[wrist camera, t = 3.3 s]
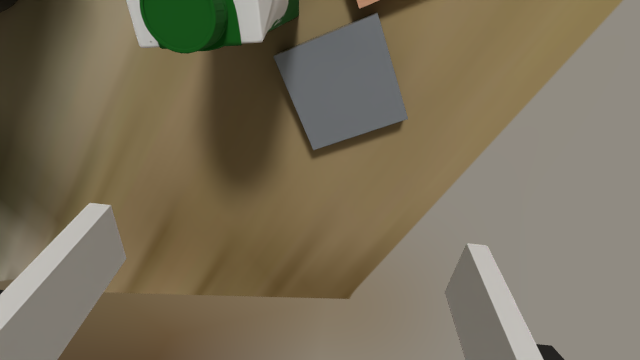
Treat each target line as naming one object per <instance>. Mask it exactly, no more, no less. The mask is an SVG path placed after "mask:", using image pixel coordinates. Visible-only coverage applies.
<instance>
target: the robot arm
mask: <svg viewBox="0 0 640 360" xmlns="http://www.w3.org/2000/svg"><path fill="white" fill-rule="evenodd" d="M16 1H17V0H0V12H2V11H4V10H6V9H8V8H9V7H11V6H12V5H13V4H14V3H15V2H16ZM125 260H126V256H125V252H124V249H123V245H122V242H121V238H120V235H119V232H118V228H117V225H116V221H115V218H114V214H113V211H112V207H111V205H105V204H95V203H89V204H88V205H87V206H86V207H85V208H84V209H83V210H82V211H81V212H80V213H79V214H78V215H77V216H76V217H75V218H74V220H73V221H72V222H71V223H70V224H69V225H68V226H67V227H66V228H65V229H64V230H63V231H62V232H61V233H60V234H59V235H58V236H57V237H56V238H55V239H54V240H53V241H52V242H51V243H50V244H49V245H48V246H47V247H46V248H45V249H44V250H43V251H42V252H41V253H40V254H39V255H38V256H37V257H36V258H35V259H34V261H33V262H32V263H31V264H30V265H29V266H28V267H27V268H26V269H25V270H24V271H23V272H22V273H21V274H20V275H19V276H18V277H17V278H16V279H15V280H14V281H13V282H12V283H11V284H10V285H9V286H8V287H7V288H6V289H5V290H0V360H57V359H58V357H59V356H60V355H61V353H62V352H63V350H64V349H65V347H66V346H67V344H68V343H69V341H70V340H71V339H72V337H73V336H74V334H75V333H76V331H77V330H78V328H79V327H80V325H81V324H82V322H83V321H84V320H85V318H86V317H87V315H88V314H89V312H90V311H91V309H92V308H93V306H94V305H95V304H96V302H97V301H98V299H99V298H100V296H101V295H102V293H103V292H104V290H105V289H106V287H107V286H108V285H109V283H110V282H111V280H112V279H113V277H114V276H115V274H116V273H117V271H118V270H119V268H120V267H121V266H122V264H123V263H124V261H125ZM445 294H446V297H447V301H448V304H449V307H450V311H451V314H452V317H453V321H454V324H455V327H456V330H457V334H458V337H459V340H460V343H461V347H462V350H463V353H464V357H465V360H564V359H563V358H562V357H561V355H560V354H559V353H558V352H557V351H556V350H555V349H554V348H553V347H552V346H548V345H538V344H536V343H535V341H534V339H533V337H532V335H531V333H530V331H529V329H528V327H527V325H526V323H525V321H524V319H523V317H522V315H521V313H520V311H519V309H518V307H517V305H516V303H515V301H514V299H513V297H512V295H511V293H510V291H509V289H508V287H507V285H506V283H505V281H504V279H503V277H502V274H501V272H500V271H499V268H498V267H497V264H496V262H495V260H494V258H493V256H492V254H491V252H490V250H489V248H488V247H487V245H477V244H468V243H467V244H466V246H465V248H464V251H463V253H462V255H461V257H460V259H459V262H458V264H457V266H456V268H455V270H454V273H453V275H452V277H451V279H450V282H449V284H448V286H447V288H446V290H445Z"/></svg>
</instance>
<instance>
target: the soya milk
mask: <svg viewBox="0 0 640 360" xmlns="http://www.w3.org/2000/svg"><path fill="white" fill-rule="evenodd" d="M126 2H127V5H128V9H129V12H130V16H131V19H132V23H133V26H134V30H135V33H136V36H137V40H138V43H139V46H140V47H142V48H150V47H160V48H162V49H169V50H172V51H174V52H178V53H187V54H188V53H192V52H196V51H209V50H214V49H218V48H221V47H223V46H238V45H242V43H261V42H263V40H264V37H265V35H266V33H267V32H269V31H271V30H273V29H275V28H277V27H279V26H281V25H283V24H284V23H286V22H288V21H290V20H292V19H294V18H296V17H298V16H299V0H126Z"/></svg>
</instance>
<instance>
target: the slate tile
mask: <svg viewBox="0 0 640 360" xmlns="http://www.w3.org/2000/svg"><path fill="white" fill-rule="evenodd" d="M273 57H274V59H275V61H276V64H277V66H278V68H279V71H280V73H281V75H282V78H283V80H284V82H285V85H286V87H287V89H288V92H289V94H290V96H291V99H292V101H293V103H294V106H295V108H296V110H297V113H298V115H299V117H300V120H301V122H302V125H303V127H304V129H305V132H306V134H307V136H308V139H309V141H310V143H311V146H312V148H313V150H315V149H318V148H321V147H324V146H327V145H330V144H333V143H336V142H339V141H342V140H345V139H348V138H351V137H354V136H358V135H361V134H364V133H367V132H370V131H373V130H376V129H379V128H382V127H385V126H388V125H391V124H394V123H397V122H400V121H403V120H406V119H408V117H407V114H406V110H405V107H404V103H403V100H402V96H401V93H400V90H399V86H398V83H397V79H396V76H395V72H394V69H393V65H392V62H391V58H390V55H389V51H388V48H387V44H386V41H385V37H384V34H383V30H382V27H381V23H380V20H379V16H378V13H377V12H376V13H373V14H371V15H369V16H366V17H364V18H361V19H359V20H357V21H354V22H352V23H349V24H347V25H344V26H342V27H340V28H337V29H335V30H332V31H330V32H327V33H325V34H323V35H320V36H318V37H315V38H313V39H311V40H308V41H306V42H303V43H301V44H298V45H296V46H294V47H291V48H289V49H286V50H284V51H282V52H279V53H277V54H276V55H274V56H273Z"/></svg>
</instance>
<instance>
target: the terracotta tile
mask: <svg viewBox="0 0 640 360" xmlns="http://www.w3.org/2000/svg"><path fill="white" fill-rule="evenodd" d="M377 1H379V0H357V4H358V7H359V9H360V8H362V7H365V6H367V5H369V4H372V3H374V2H377Z"/></svg>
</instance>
